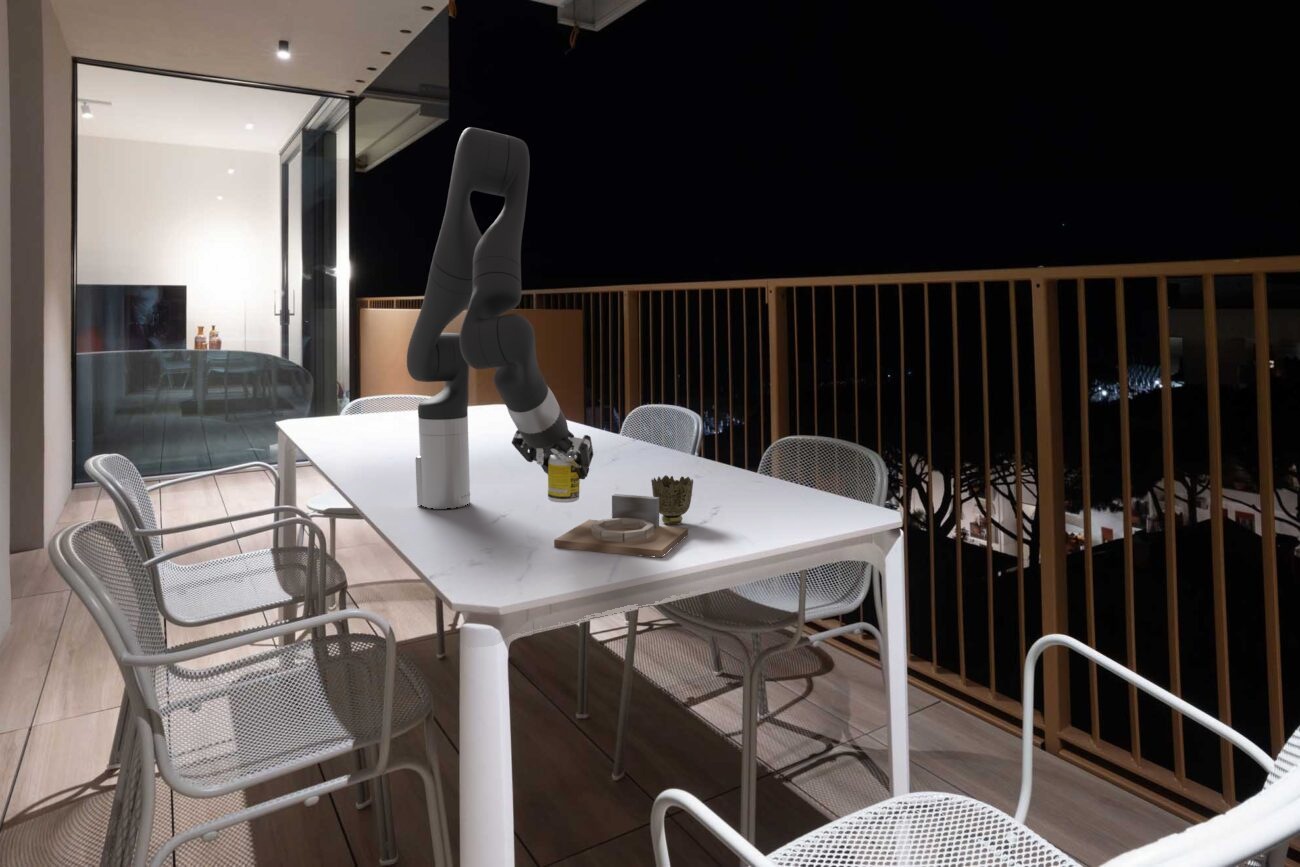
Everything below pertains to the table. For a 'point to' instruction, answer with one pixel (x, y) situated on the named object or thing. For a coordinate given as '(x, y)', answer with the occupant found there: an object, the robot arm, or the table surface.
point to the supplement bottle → (562, 481)
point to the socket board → (625, 530)
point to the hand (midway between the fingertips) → (568, 473)
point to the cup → (672, 497)
